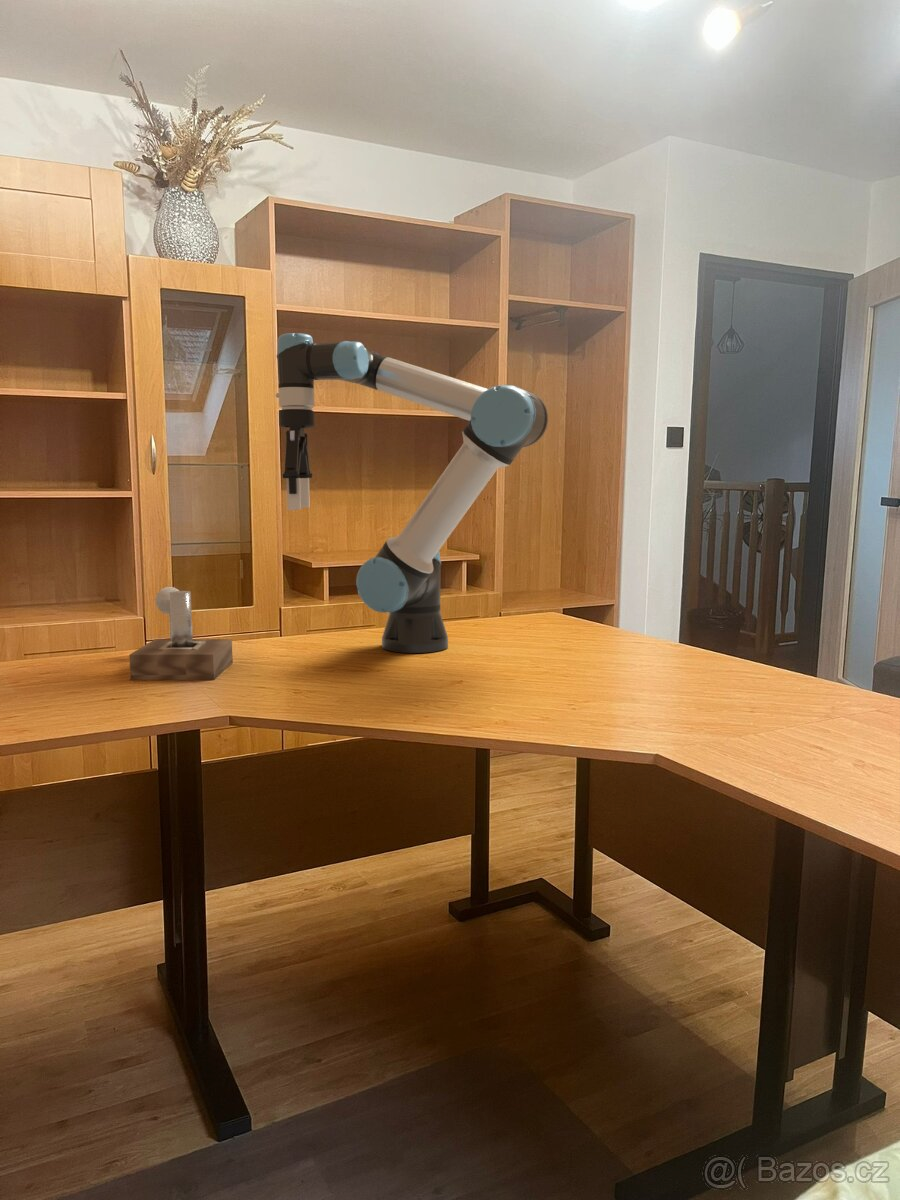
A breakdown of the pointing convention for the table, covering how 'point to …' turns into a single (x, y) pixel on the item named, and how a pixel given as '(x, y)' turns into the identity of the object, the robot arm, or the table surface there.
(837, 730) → the table surface
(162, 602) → the lollipop
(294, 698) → the table surface
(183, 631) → the pin
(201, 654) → the bore block
